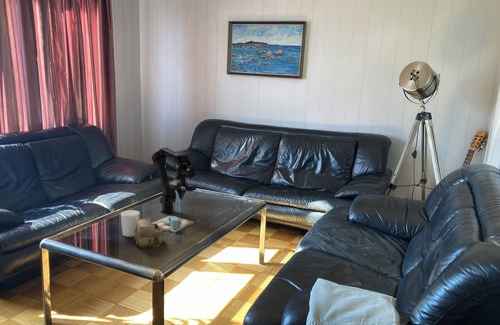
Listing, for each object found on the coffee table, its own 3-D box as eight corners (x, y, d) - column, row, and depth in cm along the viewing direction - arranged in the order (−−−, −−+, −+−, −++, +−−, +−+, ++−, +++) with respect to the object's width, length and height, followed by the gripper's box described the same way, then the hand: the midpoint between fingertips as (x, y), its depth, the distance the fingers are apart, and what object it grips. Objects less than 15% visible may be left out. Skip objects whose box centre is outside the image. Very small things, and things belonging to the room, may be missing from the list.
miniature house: (136, 250, 199) (136, 228, 197) (132, 240, 212) (132, 219, 209) (166, 246, 205) (166, 225, 203) (160, 236, 218) (160, 216, 216)
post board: (149, 225, 232) (149, 217, 231) (170, 217, 248) (170, 209, 247) (174, 232, 224) (174, 224, 223) (193, 223, 239) (193, 215, 238)
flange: (162, 220, 238) (162, 212, 237) (178, 218, 242) (178, 210, 241) (166, 229, 224) (166, 221, 223) (184, 228, 227) (184, 219, 226)
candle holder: (143, 232, 222) (143, 211, 220) (132, 238, 213) (132, 217, 211) (128, 229, 225) (128, 209, 223) (117, 235, 216) (116, 214, 214)
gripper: (160, 174, 239) (160, 199, 243) (185, 179, 231) (185, 205, 234) (172, 171, 249) (172, 195, 252) (196, 176, 240) (196, 201, 243)
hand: (181, 199), depth 245 cm, fingers closed
